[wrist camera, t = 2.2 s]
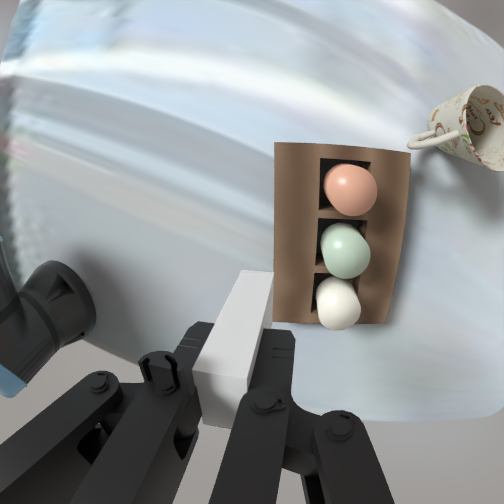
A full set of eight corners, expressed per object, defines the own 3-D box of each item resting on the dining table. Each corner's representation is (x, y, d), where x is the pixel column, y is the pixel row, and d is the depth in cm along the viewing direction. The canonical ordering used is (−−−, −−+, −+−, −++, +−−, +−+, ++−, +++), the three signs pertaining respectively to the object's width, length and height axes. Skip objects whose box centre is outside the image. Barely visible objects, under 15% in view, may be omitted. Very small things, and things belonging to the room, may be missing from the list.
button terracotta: (322, 205, 27) (327, 215, 23) (323, 162, 26) (329, 164, 22) (364, 208, 26) (375, 217, 23) (366, 165, 25) (378, 168, 21)
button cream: (314, 309, 31) (316, 330, 28) (317, 275, 30) (320, 293, 26) (350, 310, 31) (356, 330, 27) (356, 276, 29) (364, 294, 25)
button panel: (274, 306, 36) (272, 321, 32) (276, 143, 29) (274, 142, 25) (378, 308, 34) (385, 323, 31) (398, 152, 27) (410, 153, 23)
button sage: (318, 261, 29) (322, 278, 25) (321, 221, 28) (326, 232, 24) (358, 262, 29) (366, 279, 25) (362, 223, 27) (373, 235, 23)
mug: (478, 151, 24) (528, 159, 15) (406, 183, 28) (449, 200, 19) (456, 90, 22) (503, 78, 13) (378, 116, 26) (415, 104, 16)
